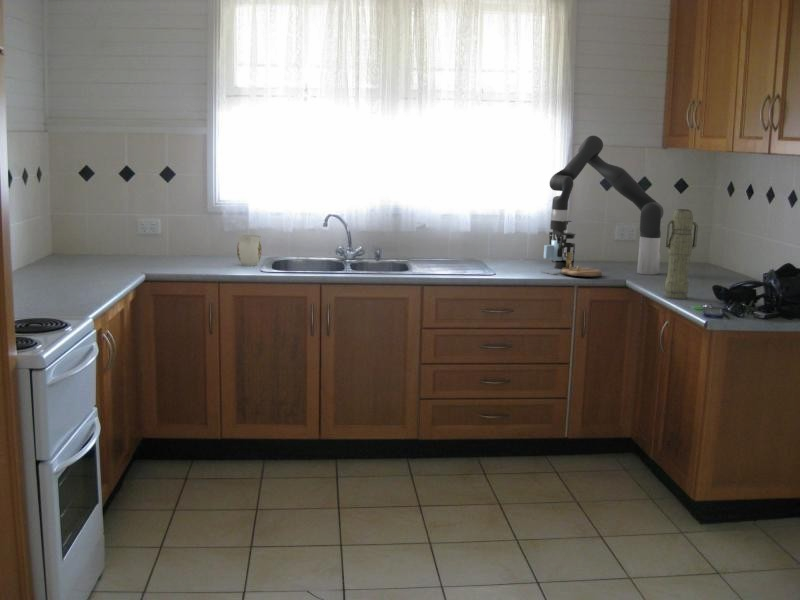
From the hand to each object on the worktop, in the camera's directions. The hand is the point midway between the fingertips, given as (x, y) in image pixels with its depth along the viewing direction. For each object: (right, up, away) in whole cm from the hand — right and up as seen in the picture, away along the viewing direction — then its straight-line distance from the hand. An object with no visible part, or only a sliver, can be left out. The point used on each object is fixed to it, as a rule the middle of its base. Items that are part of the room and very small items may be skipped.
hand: (556, 255), depth 402 cm
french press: (+6, -5, +17) cm, 19 cm away
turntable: (+10, -8, -5) cm, 14 cm away
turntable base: (+10, -9, -5) cm, 15 cm away
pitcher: (-141, -4, -3) cm, 141 cm away
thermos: (+38, -20, -54) cm, 69 cm away
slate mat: (0, -8, +1) cm, 8 cm away
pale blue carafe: (-2, -2, 0) cm, 3 cm away
